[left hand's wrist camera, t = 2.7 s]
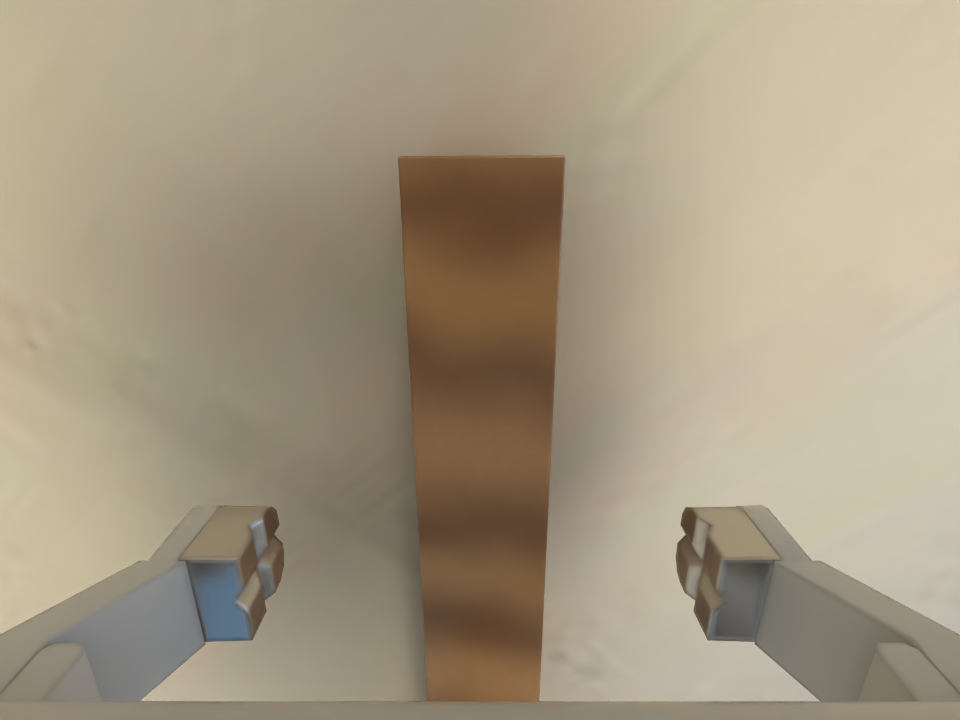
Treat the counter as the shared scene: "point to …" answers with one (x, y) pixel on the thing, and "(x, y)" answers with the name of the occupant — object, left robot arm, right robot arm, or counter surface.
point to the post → (482, 410)
